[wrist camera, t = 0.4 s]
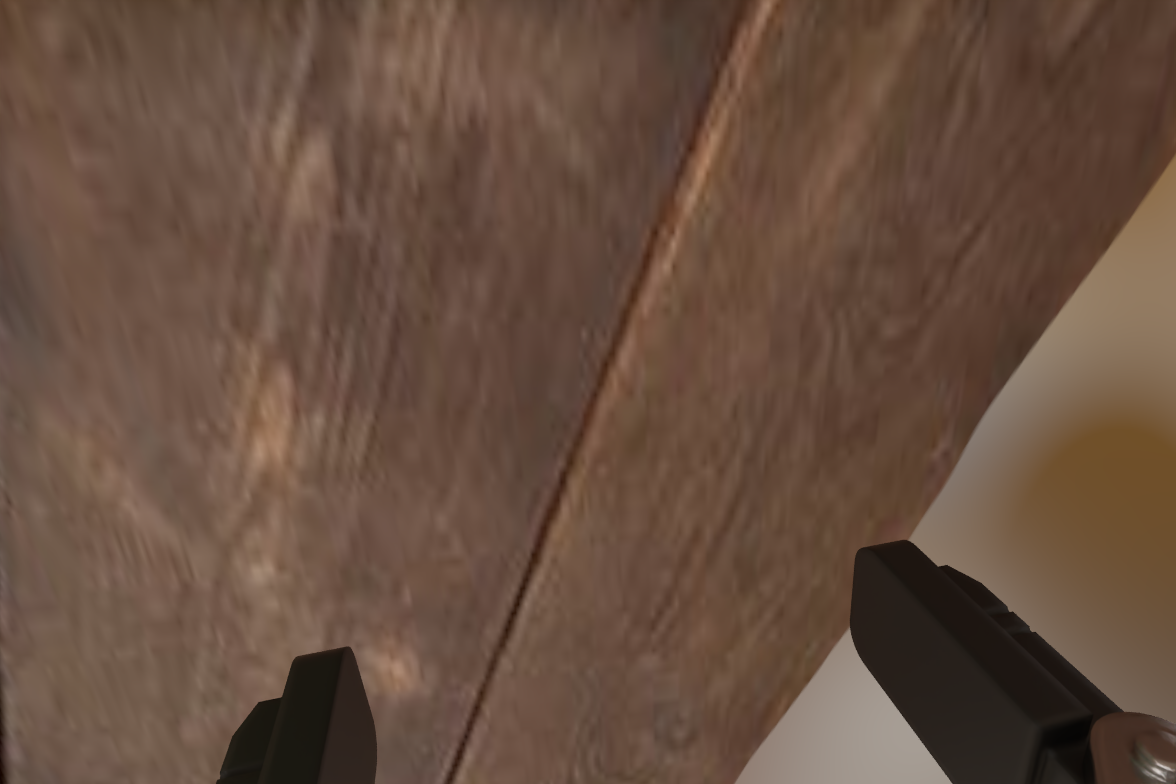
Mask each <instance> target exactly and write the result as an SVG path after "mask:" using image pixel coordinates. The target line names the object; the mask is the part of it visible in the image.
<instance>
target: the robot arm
mask: <svg viewBox="0 0 1176 784" xmlns="http://www.w3.org/2000/svg"><path fill="white" fill-rule="evenodd" d="M850 630H851V635H852V639H853V642H854V645H855V648H856V650H857V652H858V654H859V656H860V658H861V660H862V661H863V663H864V664H865V665H866V667H867V668H868V670H869V671H870V672H871V674H872V675H873V676H874V678H875V679H876V681H877V682H878V683H879V685H880V686H881V687H882V689H883V690H884V691H885V693H886V694H887V695H888V697H889V698H890V699H891V701H892V702H893V703H894V705H895V706H896V708H897V709H898V710H899V712H900V713H901V714H902V716H903V717H904V718H905V720H906V721H907V722H908V724H909V725H910V727H911V728H912V729H913V731H914V732H915V733H916V735H917V736H918V737H919V738H920V740H921V741H922V743H923V744H924V745H925V747H926V748H927V750H928V751H929V752H930V754H931V755H932V756H933V758H934V759H935V760H936V762H937V763H938V765H939V766H940V767H941V769H942V770H943V771H944V773H945V774H946V775H947V777H948V778H949V779H950V781H951V782H952V783H953V784H1176V724H1174V723H1172V722H1169V721H1167V720H1164V719H1162V718H1158V717H1155V716H1152V715H1147V714H1142V713H1134V712H1124V711H1123V710H1122V709H1120V708H1119V707H1118V706H1117V705H1116V704H1115V703H1114V702H1112V701H1111V700H1110V699H1109V698H1108V697H1107V696H1106V695H1105V694H1104V693H1102V692H1101V691H1100V690H1099V689H1098V688H1097V687H1096V686H1095V685H1094V684H1093V683H1091V682H1090V681H1089V680H1088V679H1087V678H1086V677H1085V676H1084V675H1082V674H1081V673H1080V672H1079V671H1078V670H1077V669H1076V668H1075V667H1074V666H1073V665H1071V664H1070V663H1069V662H1068V661H1067V660H1066V659H1065V658H1064V657H1063V656H1061V655H1060V654H1059V653H1058V652H1057V651H1056V650H1055V649H1054V648H1053V647H1051V646H1050V645H1049V644H1048V643H1047V642H1046V641H1045V640H1044V639H1043V638H1042V637H1040V636H1039V635H1038V634H1037V633H1036V632H1031V631H1030V628H1029V626H1028V625H1027V624H1026V623H1025V622H1024V621H1023V620H1021V619H1020V618H1019V617H1018V616H1017V615H1016V614H1015V613H1014V612H1009V611H1008V608H1007V606H1006V605H1005V604H1004V603H1003V602H1002V601H1001V600H999V599H998V598H997V597H996V596H995V595H994V594H993V593H992V592H991V591H990V590H988V589H987V588H986V587H985V586H984V585H983V584H982V583H980V582H978V581H976V580H974V579H973V578H971V577H969V576H967V575H965V574H963V573H961V572H959V571H957V570H955V569H954V568H952V567H950V566H948V565H945V566H939V567H938V566H937V565H935V563H933V562H932V561H931V560H930V559H929V558H928V557H927V556H926V555H925V554H924V553H923V552H922V551H921V550H920V549H919V548H917V546H915V545H914V544H913V543H911V542H910V541H907V540H900V541H895V542H890V543H884V544H879V545H874V546H869V547H864V548H861V549H859V550H858V552H857V553H856V557H855V565H854V577H853V589H852V601H851V613H850ZM376 765H377V742H376V732H375V725H374V721H373V717H372V713H371V710H370V707H369V703H368V700H367V696H366V693H365V689H364V686H363V683H362V679H361V676H360V672H359V669H358V666H357V662H356V659H355V656H354V653H353V651H352V649H351V648H350V647H342V648H337V649H332V650H327V651H322V652H317V653H312V654H306V655H301V656H297V657H296V658H295V659H294V660H293V662H292V665H291V668H290V672H289V675H288V679H287V682H286V686H285V689H284V693H283V696H282V697H281V698H277V699H272V700H267V701H262V702H258V704H257V705H256V706H255V708H254V709H253V710H252V712H251V713H250V714H249V715H248V717H247V718H246V719H245V721H244V722H243V723H242V724H241V726H240V727H239V728H238V730H237V731H236V732H235V734H234V735H233V736H232V739H231V742H230V745H229V748H228V751H227V754H226V757H225V759H224V762H223V765H222V768H221V771H220V779H219V780H217V782H216V784H375V775H376Z"/></svg>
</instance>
